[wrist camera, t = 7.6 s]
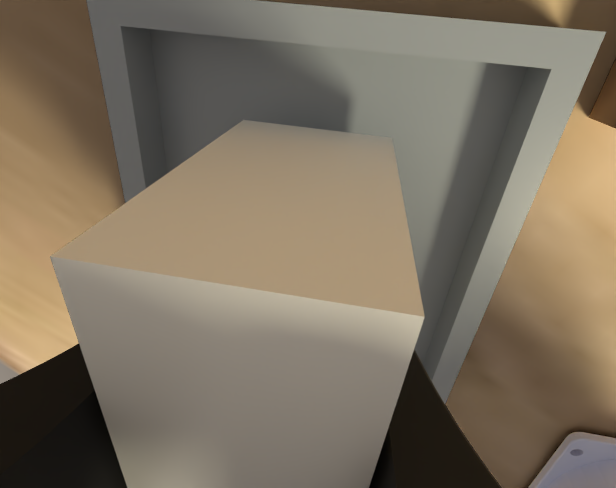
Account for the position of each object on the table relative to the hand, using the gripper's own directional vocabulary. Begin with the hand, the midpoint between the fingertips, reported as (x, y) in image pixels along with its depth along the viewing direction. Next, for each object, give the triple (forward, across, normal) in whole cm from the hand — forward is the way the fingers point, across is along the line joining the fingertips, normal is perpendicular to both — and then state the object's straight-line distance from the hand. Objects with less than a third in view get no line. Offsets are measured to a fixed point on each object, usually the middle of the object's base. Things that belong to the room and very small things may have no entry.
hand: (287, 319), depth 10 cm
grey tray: (+5, 0, 0) cm, 5 cm away
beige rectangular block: (+3, 0, 0) cm, 3 cm away
